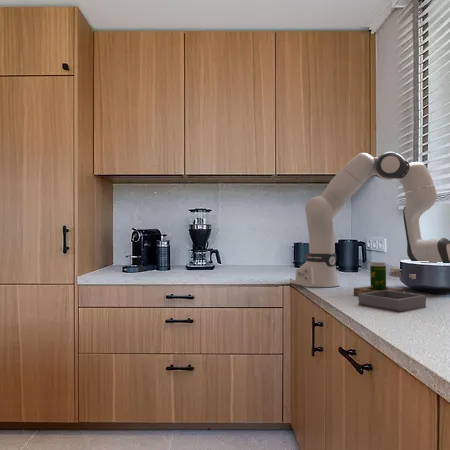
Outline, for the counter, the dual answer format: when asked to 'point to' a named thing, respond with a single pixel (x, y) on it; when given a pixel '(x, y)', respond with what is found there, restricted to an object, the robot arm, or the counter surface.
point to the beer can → (378, 276)
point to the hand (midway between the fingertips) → (400, 275)
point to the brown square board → (368, 289)
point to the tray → (392, 300)
